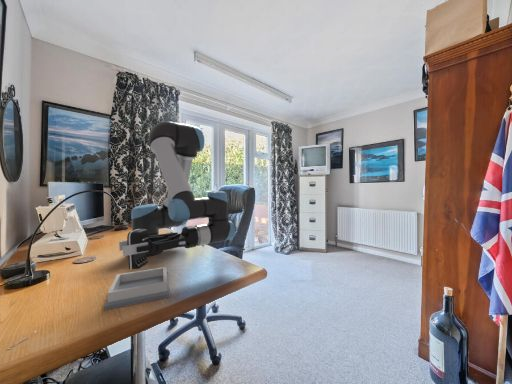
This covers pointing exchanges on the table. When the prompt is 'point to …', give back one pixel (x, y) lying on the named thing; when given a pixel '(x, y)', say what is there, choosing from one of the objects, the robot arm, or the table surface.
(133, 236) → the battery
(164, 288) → the tray
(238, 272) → the table surface
